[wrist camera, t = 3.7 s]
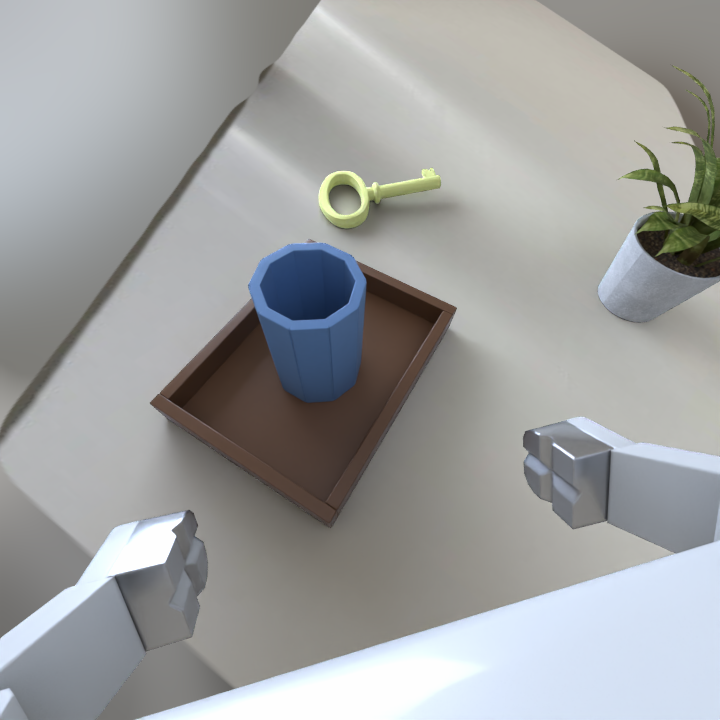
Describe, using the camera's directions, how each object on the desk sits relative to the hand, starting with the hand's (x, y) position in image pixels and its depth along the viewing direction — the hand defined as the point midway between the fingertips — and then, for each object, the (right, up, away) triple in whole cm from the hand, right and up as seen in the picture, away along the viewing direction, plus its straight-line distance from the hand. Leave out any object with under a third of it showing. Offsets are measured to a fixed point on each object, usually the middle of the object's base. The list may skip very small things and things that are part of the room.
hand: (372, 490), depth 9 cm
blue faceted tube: (-3, +3, +19) cm, 19 cm away
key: (+1, +19, +29) cm, 35 cm away
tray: (-3, +3, +19) cm, 19 cm away
